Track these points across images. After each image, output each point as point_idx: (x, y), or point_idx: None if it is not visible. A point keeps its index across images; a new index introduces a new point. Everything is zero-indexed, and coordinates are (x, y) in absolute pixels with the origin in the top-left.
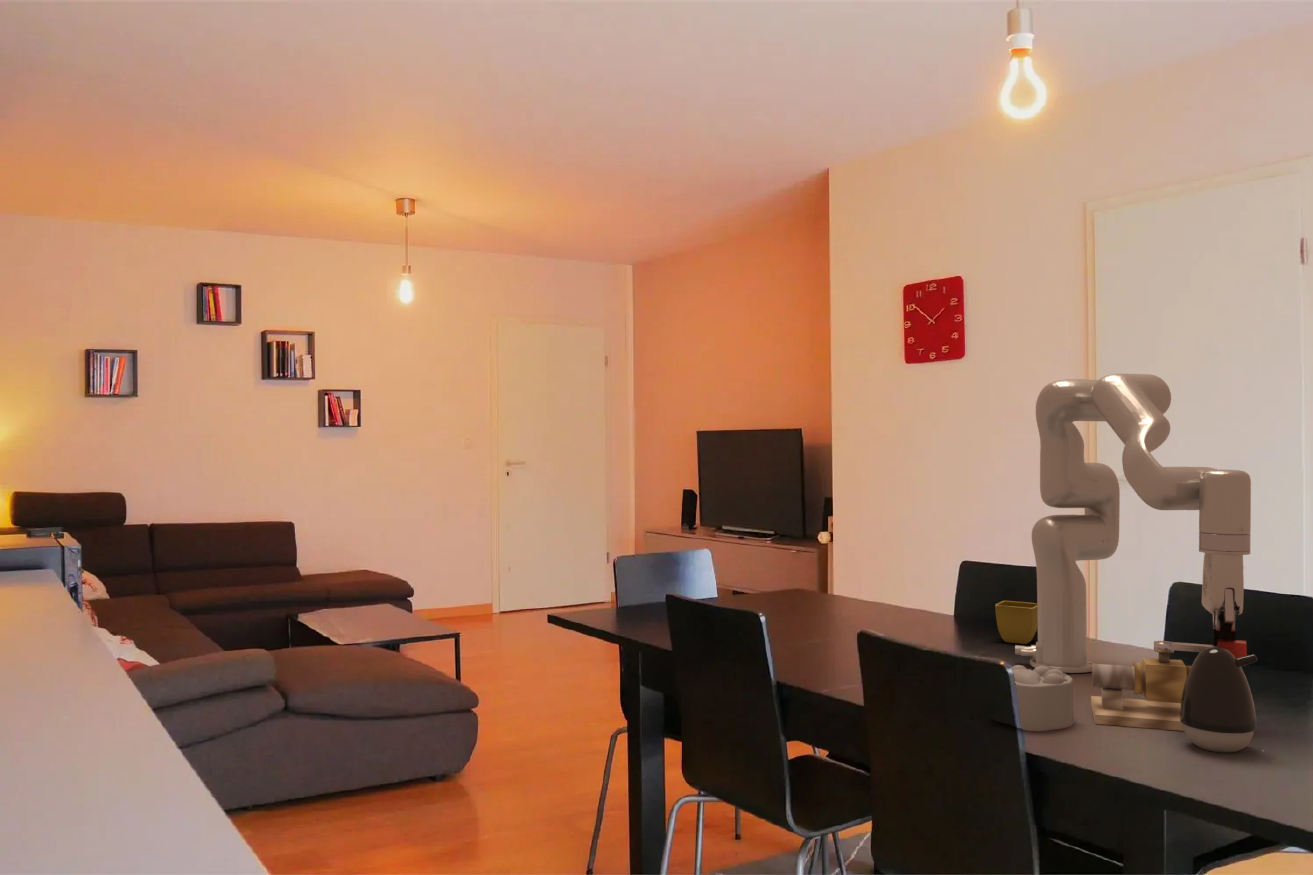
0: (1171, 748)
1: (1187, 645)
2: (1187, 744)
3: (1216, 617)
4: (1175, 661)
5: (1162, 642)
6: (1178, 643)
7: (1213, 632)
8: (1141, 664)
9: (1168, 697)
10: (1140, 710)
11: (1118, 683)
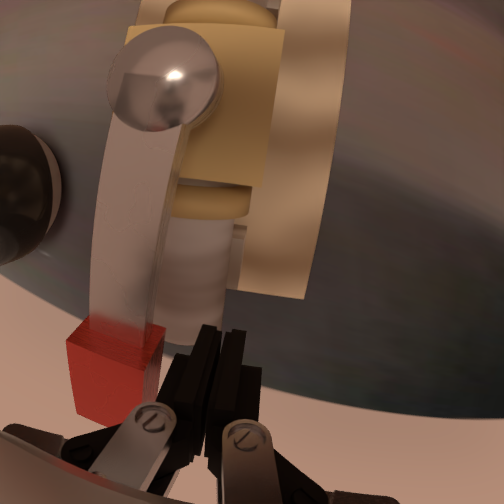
0: (20, 109)
1: (99, 198)
2: (41, 136)
3: (109, 462)
4: (217, 150)
5: (156, 69)
6: (137, 157)
7: (186, 390)
8: (190, 17)
9: None
10: None
11: None
